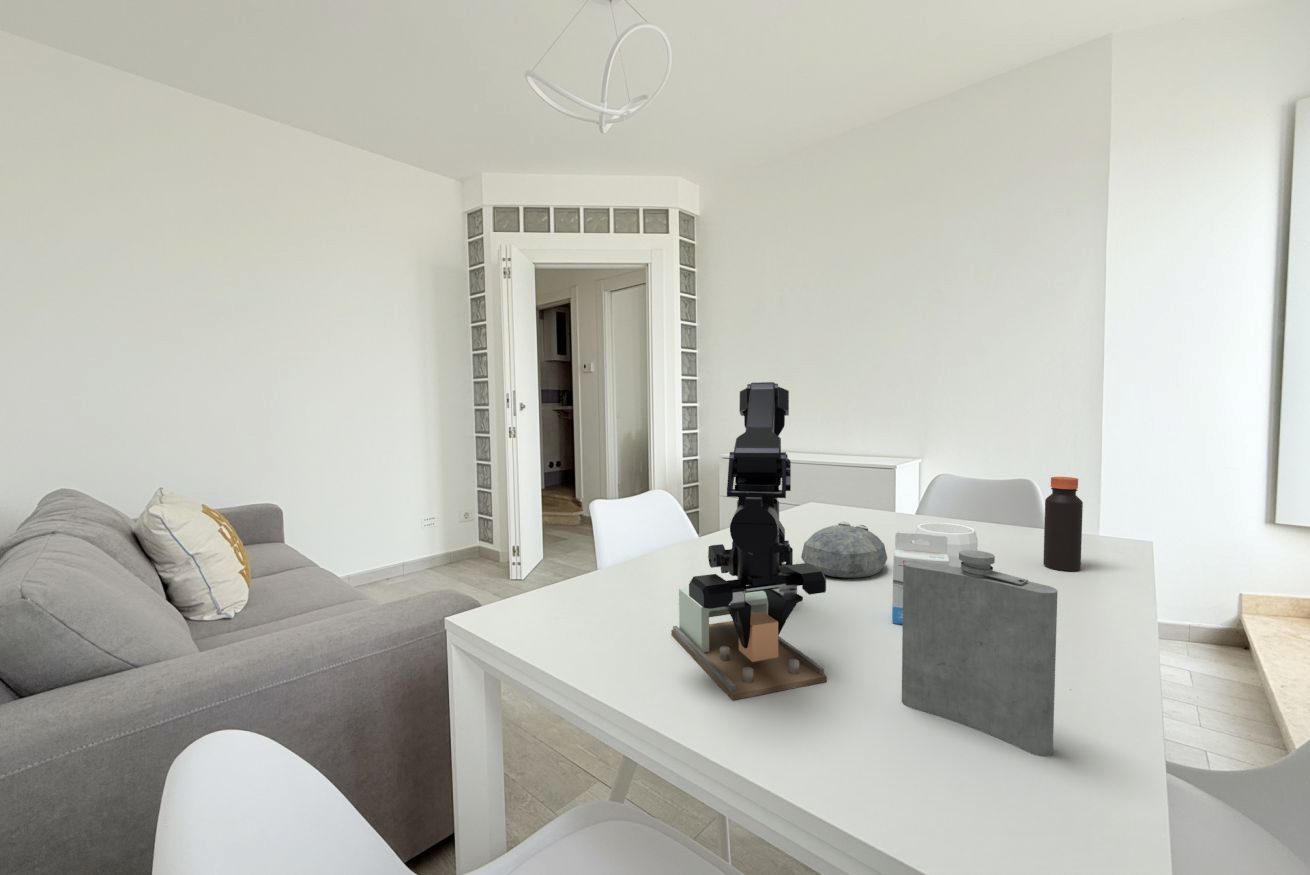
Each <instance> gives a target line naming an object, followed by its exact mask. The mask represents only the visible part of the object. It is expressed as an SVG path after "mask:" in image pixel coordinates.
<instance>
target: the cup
mask: <svg viewBox="0 0 1310 875" xmlns="http://www.w3.org/2000/svg"><path fill="white" fill-rule="evenodd" d="M914 533H918V534H930V535H941V536H946V537H947V554H948V556H949V566H954V567H960V568H961V562H963V561H961V560H959V552H960V551H964V550H975V551H978V545H979V544H978V543H979V542H978V541H979V540H978V537H977V533H976V530H975V528H973V527H970V526H967V525H962V524H957V523H949V522H924V523H920V524H918V525H917V526H916V529H915V532H914ZM913 541H914V543H915V544H926V545H929V544H930V542H929V541H924V540H923V539H919V540H913Z"/></svg>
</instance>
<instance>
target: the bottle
mask: <svg viewBox="0 0 1310 875" xmlns="http://www.w3.org/2000/svg"><path fill="white" fill-rule="evenodd" d="M1050 490H1051V491H1052V492H1051V493H1050V495H1048V496H1047V497H1046V498H1045V500H1044V530H1043V531H1044V532H1043V533H1044V536H1043V561H1042V562H1043V566H1044V567H1045V568H1048V567H1049V568H1048V569H1051V568H1052V569H1051V570H1055V569H1056V570H1055V571H1060V570H1063V571H1062V572H1078V571H1080V570H1081V568H1082V536H1083V534H1082V533H1083V511H1084V510H1083V508H1084V506H1083V505H1084V502H1083V501H1082V499H1081V498H1079V496H1078V495H1077V492H1078V490H1079V478H1077V477H1071V476H1052V477H1050Z"/></svg>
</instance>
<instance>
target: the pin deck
mask: <svg viewBox="0 0 1310 875" xmlns="http://www.w3.org/2000/svg"><path fill="white" fill-rule="evenodd" d="M670 630H671V631H670V632H671V636H672V637H673V638H674V639H675V640H676V641H677V642H678V644H679V645H680V646H681V647H682V648H683V649H684V650H685V651H686V652H687V653H688V654H689V655H690V656H691V658H692V659H694V661H695V662H696V663H697V664H698V665H699V666H700V668H702V669H703V670H704V672H705V673H706V674H707V675H708V676H709V677H710V678H711V679H712V680H713V681H714V682H715V683H716V684H717V686H718V687H720V689H722V690H723V692H724V693H725V694H726V695H727V696H728V697H729V698H730V699H731V700H732V701H735V700H736V701H737V700H741V699H747V698H751V697H756V696H757V697H758V696H762V695H767V694H771V693H777V692H782V691H786V690H790V689H792V690H793V689H796V688H801V687H807V686H811V685H817V684H822V683H827V682H828V680H827V679H828V676H827V675H826V674H825V668H824V667H823V666H821V665H820V664H818V663H817V662H816V661H814V660H813V659H811V658H810V657H809V656H808V655H806V654H804V653H803V652H802V651H800V650H799V649H798V648H796V647H795V646H794V645H792V644H791V643H789V642H788V641H787V640H785V639H783V638H782V637H781V636H778V657H777V658H771V659H766V660H760V661H755V662H752V661H751V660H750V659H749V658H747V657H746V656H745V655H744V654H743V653H742V652H740V651H739V636H738V634H737V631H736V628H735V625H734V622H733V620H730V621H722V622H717V623H709V652H704V653H703V652H702V651H701V650H700V649H699V648H698V647H697V646H696V645H695V644H694V643H693V642H692V641H691V640H690V639H689V638H688V637H687V636H686V635H685V634H684V633H683V632H682V631H681V630H680V629H679V626H678V625H672V629H670Z"/></svg>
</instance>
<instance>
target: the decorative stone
mask: <svg viewBox="0 0 1310 875" xmlns="http://www.w3.org/2000/svg"><path fill="white" fill-rule="evenodd" d="M887 554H888V553H887V550H886V545H885V543H884V542H883V541H882V540H881V539H880V538H879V536H877V535H876V534H875V533H873V532H872V531H870V530H869V527H867V526H866V525H863V524H858V525H856V526H854V525H851V523H849V522H846V521H840V522H839V523H838V524H835V525H830V526H827V527H824V528H822V529H819V530H818V531H815V532H814V533H813V534H812V535H811V536H809V538H807V540H806V541H805V542H804V545H803V547H802V552H801V555H800V558H801V560H802V561H803V563H804V564H806V565H809V566H811V567H813V568H815V569H817V570H820V571H822V573H823V574H824V576H829V577H834V578H835V577H837V578H850V579H851V578H865V577H871V576H873V575H876V574H878V573H880V572H881V571H882V569H883V568H884V567H885V565H886V563H887V561H888V555H887Z"/></svg>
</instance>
